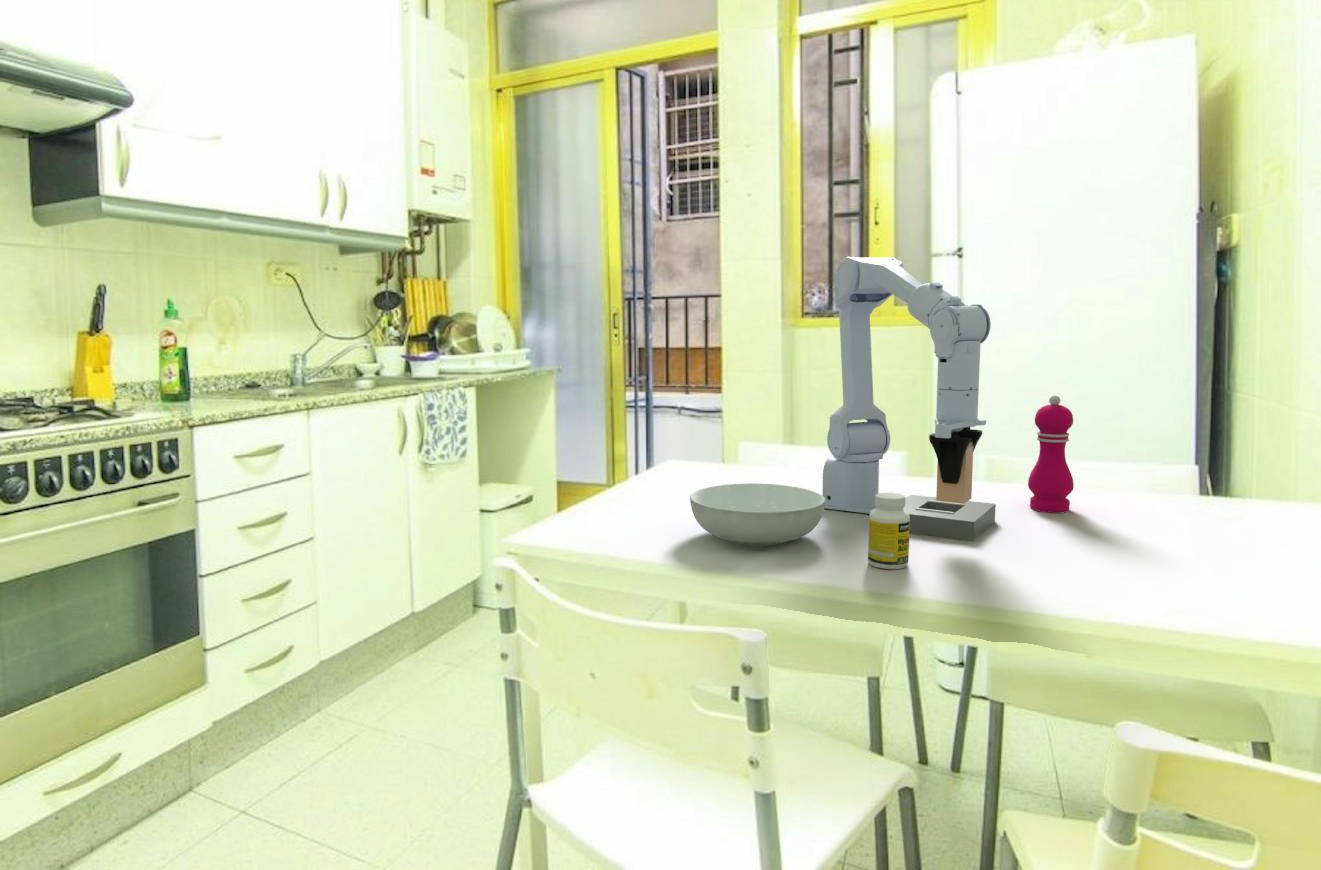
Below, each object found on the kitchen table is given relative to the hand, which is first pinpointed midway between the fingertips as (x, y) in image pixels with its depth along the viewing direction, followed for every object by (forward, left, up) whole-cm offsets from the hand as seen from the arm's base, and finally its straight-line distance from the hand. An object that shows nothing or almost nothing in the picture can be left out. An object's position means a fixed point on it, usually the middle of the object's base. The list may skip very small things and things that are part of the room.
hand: (954, 480), depth 120 cm
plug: (0, 0, -3) cm, 3 cm away
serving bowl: (-27, -12, -10) cm, 31 cm away
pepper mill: (+8, +31, -10) cm, 34 cm away
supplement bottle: (-5, -15, -10) cm, 18 cm away
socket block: (-5, +10, -10) cm, 15 cm away
